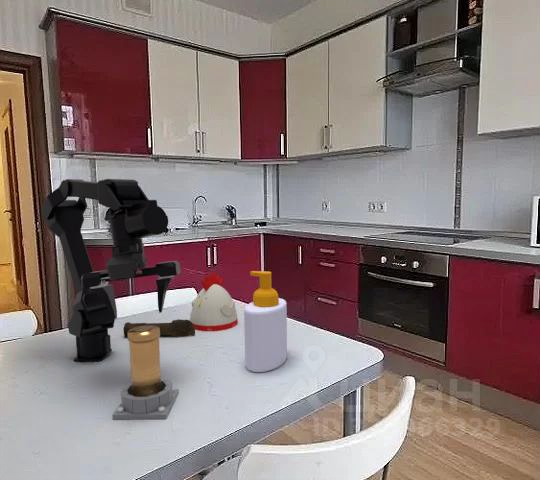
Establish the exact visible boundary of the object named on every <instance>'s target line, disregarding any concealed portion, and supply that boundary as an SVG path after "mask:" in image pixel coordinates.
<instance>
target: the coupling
mask: <svg viewBox="0 0 540 480" xmlns="http://www.w3.org/2000/svg"><path fill="white" fill-rule="evenodd" d="M127 333H128V336H127V340H128V343H129V346H128V347H129V363H130V364H129V365H130V380H131V382H130V383H132V396H135V397H147V396H151V395H155V394H157V393H159V392H161V378H162V375H161V373H162V371H161V354H160V353H161V352H160V337H161V335H160V328H159V327H157V326H139V327H135V328H132V329H130V330H129V331H128V332H127Z"/></svg>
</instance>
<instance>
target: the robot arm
mask: <svg viewBox="0 0 540 480" xmlns="http://www.w3.org/2000/svg"><path fill="white" fill-rule="evenodd" d="M70 197H71V198H78V199H77V200H76V199H68V198H70ZM86 199H87V200H96V201H97V204H99V205H101V206H103V207H105V208H107V209H108V208H109V211H108V213H107V214H106V215H105V216H104V221H105V222H109V225H110V233H111V239H112V246H111V257H110V258H109V259H108V261H107V262H106V264H105V267H106V269H103V270H98V271H94V268H93V265H92V262H91V258H90V255H89V253H88V250H87V247H86V243H85V240H84V237H83V234H82V227H83V224H84V221H85V217H84V214H85V213H86V210H87V209H88V203H87V201H86ZM41 217H42V219H43V220H45V224H46V226H47V229H48V230H49V231H51V232H52V233H53V234H54V235H55V236H57V238H59V242H60V244H61V248H62V252H63V255H64V258H65V262H66V265H67V267H68V271H69V274H70V277H71V279H72V283H73V286H74V289H75V292H76V294H75V298H74V301H73V303H72V310H73V314H72V317H71V318H70V320H69V322H68V323H67V329H68V333H69V335H72V336H75V344H76V356H75V357H74V358H73V361H74V362H101V361H103V360H104V359H105V358H106V357H107V356H108V355H109V354H110V353H111V352H112V351H113V349H112V345H111V334H109V330H108V329H113V328H114V327H115V326H114V325H115V322H116V321H115V320H117V318H118V309H117V303H116V297H115V291H114V290H115V289H114V285H113V284H112V283H111V284H109V282H115V281H121V280H128V279H129V280H130V279H137V278H143V277H150V276H157V277H158V278H157V279H155V283H156V288H157V290H156V291H157V307H158V312H159V314H160V313H163V309H164V304H165V299H166V295H167V291H168V288H169V286H170V282H171V281H172V280H174V279H175V278H176V276H177V275H179V274H181V272H182V271H181V265H180V262H178V260H170V261H163V262H157V263H156V264H155V266H148V265H147V263H148V262H147V258H146V255H145V243H143V238H149V237H153V236H154V237H155V236H159V235H162V234H164V233H165V232H166V231H167V229H168V226H169V216H168V215H167V213H166V212H165V210H164V209H163V208H162V207H161V206H159V205H158V202H157V199H149V198H148V196H147V194H145V192H144V191H143V189H142V187H140V185H139V182H138V181H137V180H136V179H127V178H126V179H123V178H121V179H120V178H106V179H101V180H98V181H89V180H84V179H80V178H79V179H75V178H74V179H73V178H72V179H70V178H67V179H66V178H65V180H64V179H63V180H62V181H60V184H59V186H58V188H56V189H54V190H53V191H52V192H50V193H49V194H48V195H47V196H46V197H45V200H44V202H43V204H42V206H41ZM147 266H148V267H147Z"/></svg>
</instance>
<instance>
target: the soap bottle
mask: <svg viewBox="0 0 540 480" xmlns="http://www.w3.org/2000/svg"><path fill="white" fill-rule="evenodd" d="M249 274H250V276H252V277H259V288H257V289H256V290H255V291H254V292H253V295H252V300H253V301H251V302H250V303H248V304H246V305H245V307H244V310H243V317H244V319H243V320H244V323H243V324H244V325H243V326H244V328H243V329H244V359H245V360H244V364H245V367H246V369H247V370H248V371H250V372H251V373H263V372H264V373H265V372H269V371H271V370H272V371H273V370H274V369H277V368H279V367H281V366H282V365H284V363H285V361H286V360H287V357H288V338H287V336H288V332H287V331H288V328H287V327H288V321H287V316H288V315H287V314H288V313H287V308H288V307H287V305H288V303H287V301H286V300H285V299H283V298H280V297H279V294H278V292H277V290H276V289H275V288H273V287H272V271H268V270H267V271H264V270H263V271H260V270H257V271H256V270H252V271H250V273H249Z"/></svg>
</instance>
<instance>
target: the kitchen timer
mask: <svg viewBox="0 0 540 480" xmlns="http://www.w3.org/2000/svg"><path fill="white" fill-rule="evenodd" d="M223 282H224V279H223V278H221V277H220V276H219V275H217V273H214V272H213V273H209V275H205V276H204V280H201V284H202V287H203V288H202V289H201V290H200V291H199V293H198V294H197V295H196V297H195V298H194V299H193V300H192V302H191V311H190V317H189V321H191V322H192V323H193V326H194V327H195V331H198V332H199V331H200V332H220V331H227V330H229V329H233V328H234V327H236V326H237V325H238V320H239V319H238V313H237V309H236V302H235V301H234V299H233V298H232V296H231V295H230V293H229V292H228V291H227V290H226V288H224V287H223Z"/></svg>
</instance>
